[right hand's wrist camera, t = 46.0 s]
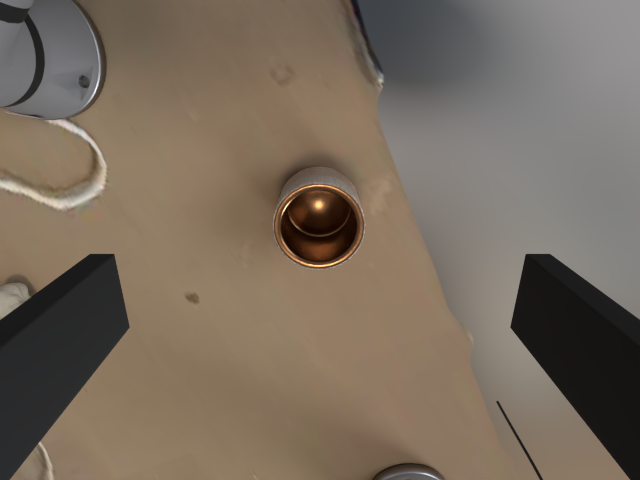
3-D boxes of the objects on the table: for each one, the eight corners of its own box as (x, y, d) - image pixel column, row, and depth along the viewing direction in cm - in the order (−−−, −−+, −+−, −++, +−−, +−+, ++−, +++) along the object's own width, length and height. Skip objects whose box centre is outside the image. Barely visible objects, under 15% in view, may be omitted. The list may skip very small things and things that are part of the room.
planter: (374, 210, 54) (385, 235, 45) (313, 255, 57) (311, 287, 48) (325, 148, 51) (326, 161, 42) (263, 198, 53) (251, 221, 44)
